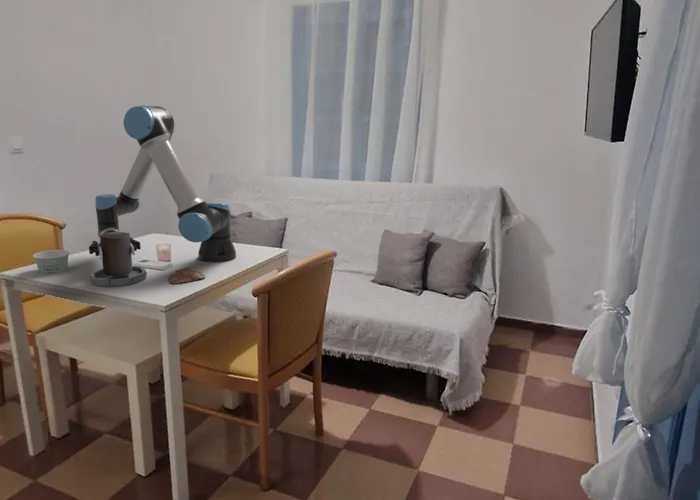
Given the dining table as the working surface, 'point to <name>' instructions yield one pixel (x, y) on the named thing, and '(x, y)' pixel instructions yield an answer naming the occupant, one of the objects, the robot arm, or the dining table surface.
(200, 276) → the shell
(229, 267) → the dining table surface
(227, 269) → the dining table surface
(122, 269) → the pillar candle
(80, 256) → the dining table surface
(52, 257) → the food container
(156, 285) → the dining table surface
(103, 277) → the tray
